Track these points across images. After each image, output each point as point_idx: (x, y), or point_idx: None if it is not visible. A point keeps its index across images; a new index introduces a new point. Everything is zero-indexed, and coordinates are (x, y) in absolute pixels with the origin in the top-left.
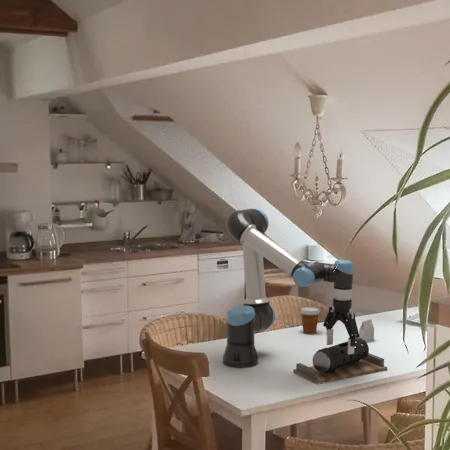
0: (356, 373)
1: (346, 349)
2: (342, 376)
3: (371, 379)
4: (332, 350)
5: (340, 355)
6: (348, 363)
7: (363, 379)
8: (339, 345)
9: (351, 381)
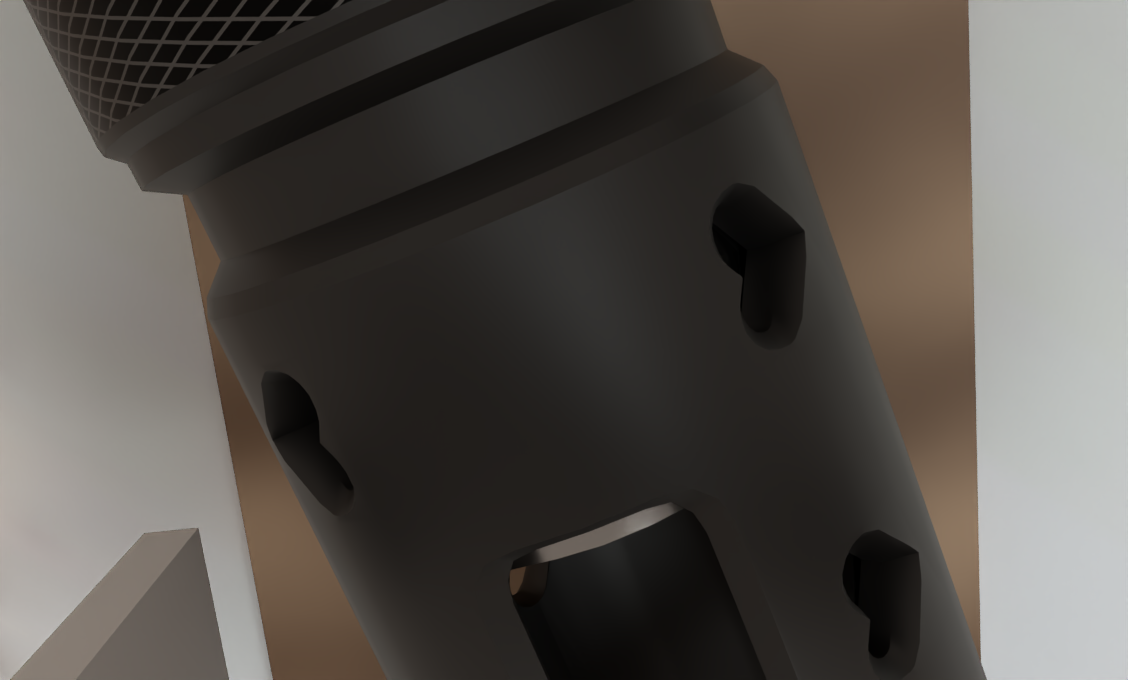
0: (246, 528)
1: (409, 651)
2: (186, 200)
3: (33, 645)
4: (166, 16)
5: (210, 300)
6: (526, 580)
7: (72, 527)
8: (755, 636)
9: (36, 277)
